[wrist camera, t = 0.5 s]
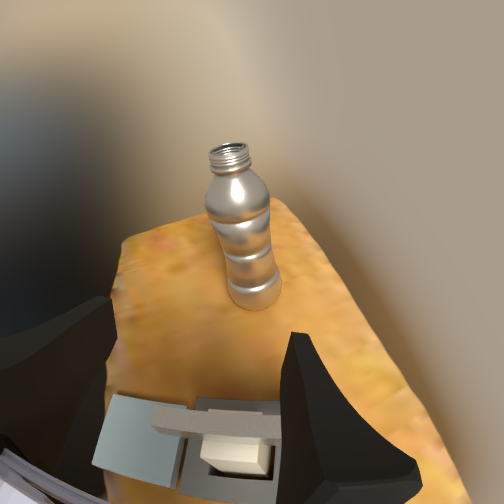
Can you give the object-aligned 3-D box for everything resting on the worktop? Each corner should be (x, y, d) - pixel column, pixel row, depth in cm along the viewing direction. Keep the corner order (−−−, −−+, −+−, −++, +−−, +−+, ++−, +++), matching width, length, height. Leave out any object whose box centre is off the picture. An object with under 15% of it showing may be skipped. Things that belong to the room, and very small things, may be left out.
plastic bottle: (292, 304, 38) (277, 148, 25) (242, 325, 36) (201, 170, 24) (270, 273, 43) (249, 132, 30) (225, 292, 41) (186, 150, 29)
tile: (175, 489, 21) (169, 487, 20) (99, 467, 23) (91, 464, 22) (191, 411, 28) (186, 405, 27) (119, 399, 30) (113, 393, 29)
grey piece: (336, 446, 23) (351, 409, 16) (336, 466, 21) (352, 438, 15) (198, 442, 25) (155, 402, 19) (195, 460, 23) (149, 427, 17)
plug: (268, 477, 22) (257, 462, 17) (225, 474, 22) (199, 457, 17) (271, 439, 25) (262, 411, 20) (230, 437, 25) (208, 408, 20)
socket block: (300, 506, 19) (300, 505, 17) (189, 496, 21) (178, 493, 19) (304, 411, 27) (304, 400, 25) (205, 408, 28) (197, 397, 26)
